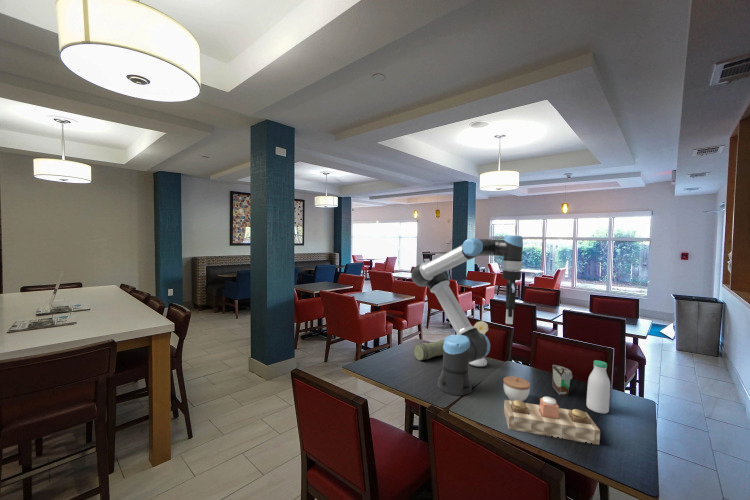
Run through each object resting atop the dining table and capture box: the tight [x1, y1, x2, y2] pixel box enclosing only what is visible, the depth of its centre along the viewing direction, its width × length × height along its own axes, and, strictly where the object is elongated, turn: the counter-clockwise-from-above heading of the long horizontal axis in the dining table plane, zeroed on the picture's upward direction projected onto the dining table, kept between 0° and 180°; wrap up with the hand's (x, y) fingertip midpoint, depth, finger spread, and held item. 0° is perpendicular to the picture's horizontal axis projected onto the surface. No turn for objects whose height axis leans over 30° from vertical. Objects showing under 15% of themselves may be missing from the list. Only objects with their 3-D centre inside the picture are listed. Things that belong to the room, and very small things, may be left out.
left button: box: [511, 400, 528, 414], centre depth 120 cm, size 5×5×6 cm
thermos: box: [413, 338, 445, 361], centre depth 187 cm, size 9×12×35 cm
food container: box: [552, 364, 573, 397], centre depth 147 cm, size 12×6×10 cm, turn 168°
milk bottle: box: [586, 359, 611, 414], centre depth 132 cm, size 8×8×20 cm
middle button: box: [539, 396, 560, 419], centre depth 118 cm, size 5×5×6 cm
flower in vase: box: [469, 320, 489, 367], centre depth 174 cm, size 13×11×25 cm
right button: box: [568, 408, 590, 424], centre depth 115 cm, size 5×5×6 cm
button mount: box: [503, 399, 601, 446], centre depth 118 cm, size 29×12×5 cm, turn 75°
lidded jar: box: [502, 375, 531, 402], centre depth 138 cm, size 11×11×9 cm
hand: (509, 323), depth 140 cm, fingers closed
